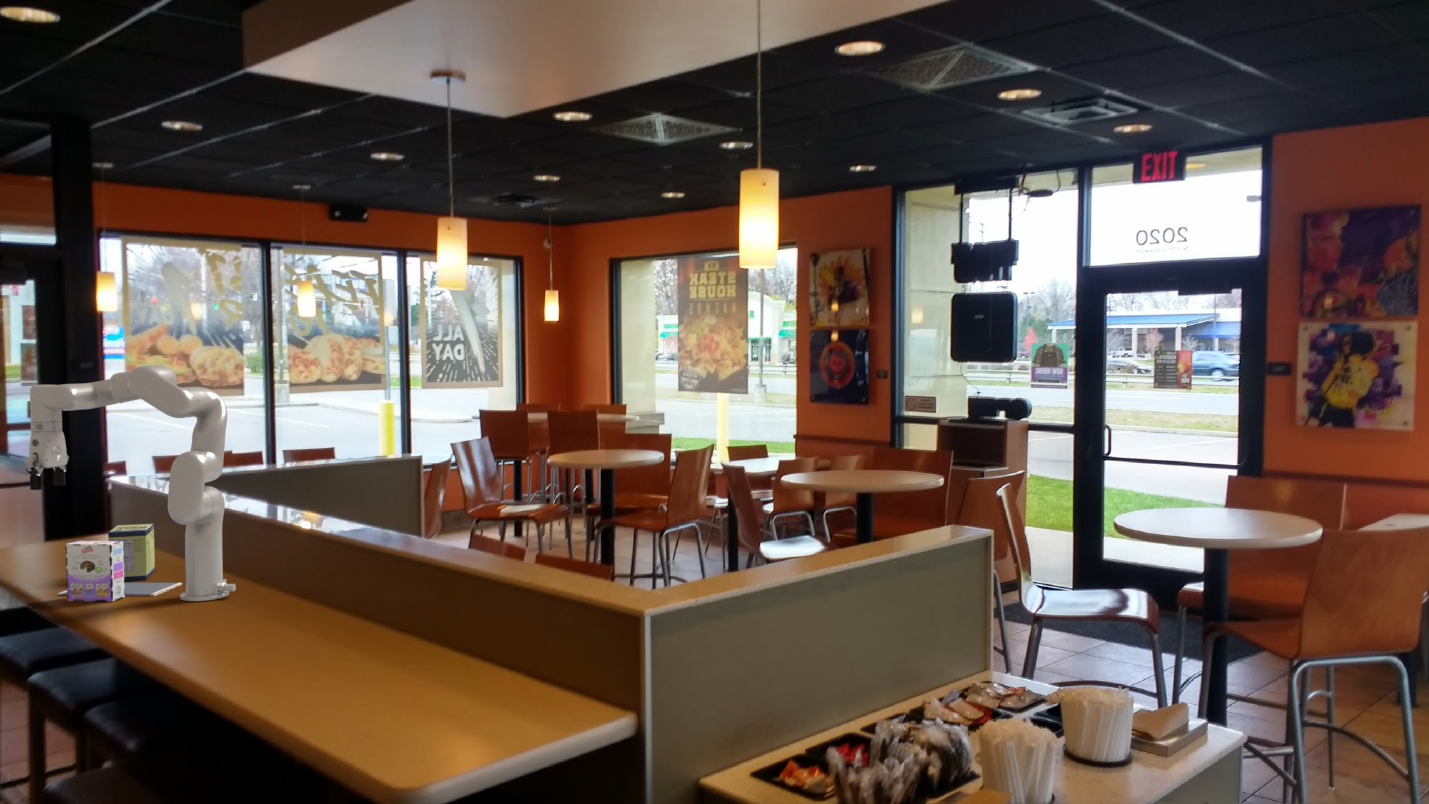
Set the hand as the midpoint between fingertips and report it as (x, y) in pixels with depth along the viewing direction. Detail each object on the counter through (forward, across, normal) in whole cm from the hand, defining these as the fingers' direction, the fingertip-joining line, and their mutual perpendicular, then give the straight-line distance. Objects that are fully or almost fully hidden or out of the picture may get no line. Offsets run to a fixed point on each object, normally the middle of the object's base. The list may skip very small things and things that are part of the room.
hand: (48, 487), depth 296 cm
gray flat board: (+31, +8, -16) cm, 36 cm away
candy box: (+31, -4, -16) cm, 35 cm away
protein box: (+32, +27, -8) cm, 42 cm away
